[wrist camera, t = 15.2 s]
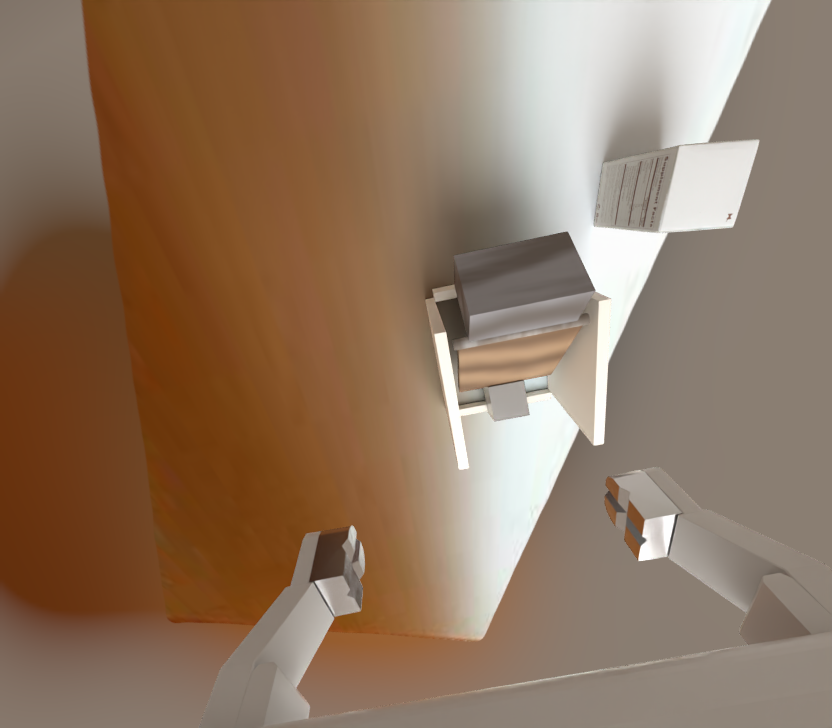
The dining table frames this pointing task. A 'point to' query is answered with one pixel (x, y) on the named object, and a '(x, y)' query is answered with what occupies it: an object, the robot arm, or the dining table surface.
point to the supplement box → (676, 188)
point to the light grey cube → (506, 400)
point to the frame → (569, 383)
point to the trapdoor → (518, 309)
